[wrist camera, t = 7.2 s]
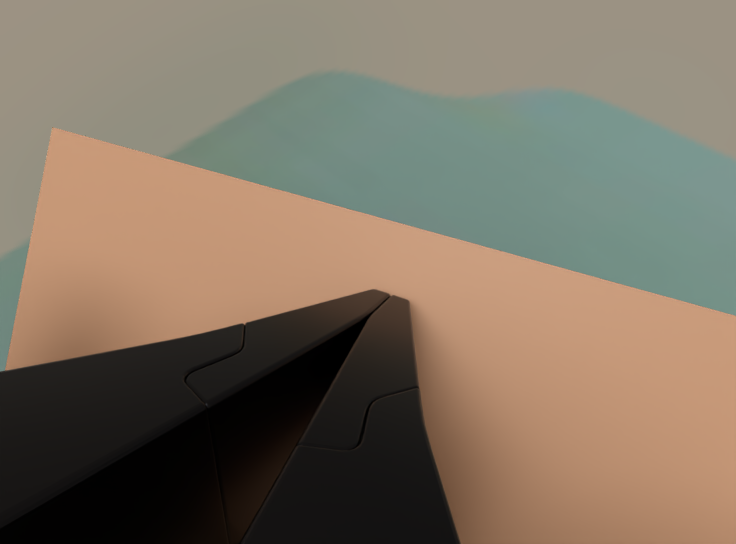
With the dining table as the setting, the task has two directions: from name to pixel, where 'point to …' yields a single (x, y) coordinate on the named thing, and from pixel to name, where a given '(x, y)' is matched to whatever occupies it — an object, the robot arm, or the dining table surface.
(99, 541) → the robot arm
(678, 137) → the dining table surface
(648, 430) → the wooden panel
